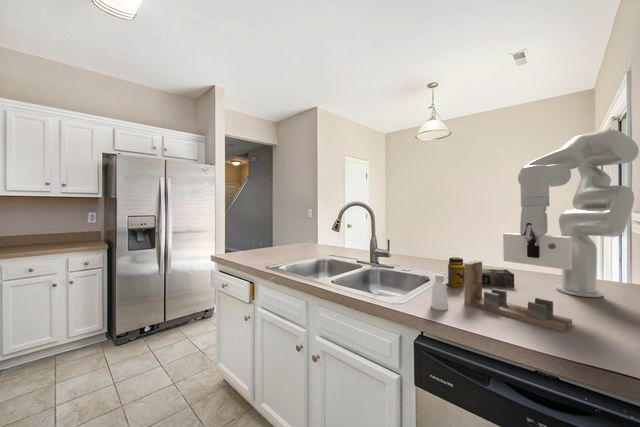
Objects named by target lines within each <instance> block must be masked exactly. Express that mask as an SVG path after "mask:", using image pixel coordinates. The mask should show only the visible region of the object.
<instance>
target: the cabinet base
mask: <svg viewBox="0 0 640 427" xmlns="http://www.w3.org/2000/svg"><path fill="white" fill-rule="evenodd" d="M463 265H464V295H463V296H464V298H463V299H464V301H463V302H464V305H468V306H472V307H475V308H478V309H481V310H485V311H488V312H491V313H494V314H498V315H502V316H506V317H509V318H512V319H516V320H519V321H522V322H527V323H529V324H532V325H537V326H540V327H543V328H546V329H550V330H554V331H557V332H560V333H564V332H565V331H567V330H568V329H569V328H571V326H572V325H573V319H572V318H568V317H565V316H561V315H557V314H554V301H552V300H549V299H542V298H538V297H535V298H534V302H533V301H528V302H527V307H525V306H521V305H517V304H514V303H511V302H507V300H508V299H507V298H508V297H507V296H508V294H507V293H508V292H507V290H503V289H500V288H499V289H497V288H495V287H493V288H491V292H490V291H483V285H482V269H483V261H481V260H473V261H469V262H466V263H464V262H463Z"/></svg>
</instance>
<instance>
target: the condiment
mask: <svg viewBox="0 0 640 427" xmlns="http://www.w3.org/2000/svg"><path fill="white" fill-rule="evenodd" d="M448 260H449V261H448V264H447V282H444V283H445V284H446V289H454V290H464V259H463V258H461V257H453V256H452V257H449V259H448Z"/></svg>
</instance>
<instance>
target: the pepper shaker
mask: <svg viewBox="0 0 640 427" xmlns="http://www.w3.org/2000/svg"><path fill="white" fill-rule="evenodd" d="M434 277H435V278H434V279H435V280H434V281H433V284H432V292H431V300H430V301H431V302H430V307H431V308H432V309H434V310H437V311H447V310H449V302H448V293H447V288H446V284H445V283H446V282H445V275H444V274H441V273H440V274H439V273H436V274H435V275H434Z"/></svg>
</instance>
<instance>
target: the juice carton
mask: <svg viewBox="0 0 640 427" xmlns="http://www.w3.org/2000/svg"><path fill="white" fill-rule="evenodd" d="M482 286H484V287H486V286H487V287H497V286H499V288H501V287H502V288H511V287H514V288H515V274H514V273H513V272H511V271H509V270H508V269H492V268H482Z"/></svg>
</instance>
